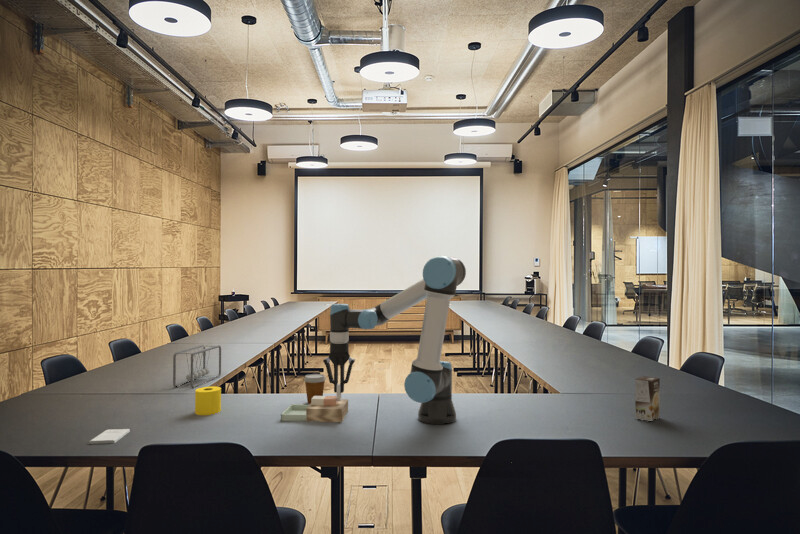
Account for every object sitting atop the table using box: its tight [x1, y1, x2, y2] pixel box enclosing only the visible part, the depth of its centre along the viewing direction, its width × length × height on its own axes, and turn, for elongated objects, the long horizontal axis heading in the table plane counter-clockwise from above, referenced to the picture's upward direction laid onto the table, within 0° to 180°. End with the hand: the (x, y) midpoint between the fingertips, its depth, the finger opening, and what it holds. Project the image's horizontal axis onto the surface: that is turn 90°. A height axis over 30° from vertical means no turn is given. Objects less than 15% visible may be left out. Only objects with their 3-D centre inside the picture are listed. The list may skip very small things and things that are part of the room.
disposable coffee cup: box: [303, 373, 327, 405], centre depth 220 cm, size 10×10×12 cm
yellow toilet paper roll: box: [194, 386, 222, 416], centre depth 206 cm, size 10×10×9 cm
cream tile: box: [311, 395, 327, 405], centre depth 200 cm, size 5×5×2 cm
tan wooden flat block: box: [305, 398, 349, 423], centre depth 200 cm, size 14×15×5 cm
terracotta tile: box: [324, 395, 338, 406], centre depth 200 cm, size 5×5×2 cm
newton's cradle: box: [172, 344, 222, 389], centre depth 262 cm, size 30×10×18 cm, turn 173°
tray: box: [280, 403, 310, 422], centre depth 201 cm, size 10×15×2 cm, turn 177°
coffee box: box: [634, 375, 661, 422], centre depth 198 cm, size 9×6×16 cm
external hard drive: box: [88, 428, 131, 445], centre depth 174 cm, size 2×8×12 cm
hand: (338, 400), depth 200 cm, fingers closed
